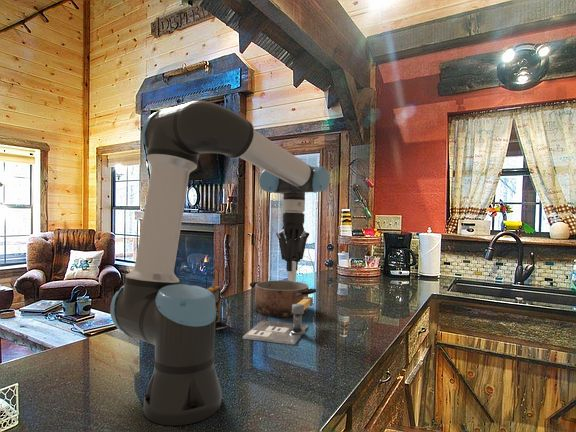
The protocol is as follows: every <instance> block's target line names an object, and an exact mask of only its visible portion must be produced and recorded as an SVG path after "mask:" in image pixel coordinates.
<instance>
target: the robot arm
mask: <svg viewBox="0 0 576 432" xmlns="http://www.w3.org/2000/svg"><path fill="white" fill-rule="evenodd" d="M141 139H142V140H141V141H142V143H143V144H144V146H145V147H144V148H145V150H146V151H147V154H146V160H147V161H148V162H149V164H150V165H151V171H150V177H149V182H148V189H147V195H146V199H145V206H144V210H143V211H144V212H143V217H142V223H141V228H140V229H141V230H140V234H139V240H138V244H137V245H138V246H137V253H136V258H135V262H134V263H135V264H134V268H133V269H132V270H131V271H130V272H128V273H127V274H126V275H125V278H124V283H123V285H122V286H121V287H120V288H119V290H118V291H116V292H115V294H114V295H113V297H112V299H111V302H110V307H109V309H110V311H109V312H110V317H111V320H112V323H113V325H114V326H115V327H116V328H117V329H118V330H119V331H121V332H122V333H124V334H125V335H126V336H128V337H130V338H134V339H137V340H139V341H142V342H145V343H147V344H150V345H153V346H154V363H153V366H154V369H153V372H152V375H151V377H150V380H149V382H148V385H147V386H148V387H147V389H146V392H145V394H144V397H143V407H142V408H143V409H142V411H143V415H144V416H145V418H147V420H149V421H151V422H152V423H155V424H158V425H162V426H185V425H190V424H195V423H198V422H201V421H204V420H206V419H208V418H209V417H212V416H213V415H214V414H216V413H217V412H218V411H219V409H220V407H221V406H222V395H223V393H222V388H221V385H220V380H219V377H218V375H217V374H218V373H217V370H216V368H215V367H216V366H215V350H216V349H215V347H216V330H215V329H216V325H217V323H216V313H217V312H216V306H215V297H214V295H213V294H212V293H211V292H210V291H209V290H207V289H206V287H202V286H198V285H189V284H184V283H181V284H180V279H179V278H178V277H177V275H176V274H175V267H176V261H177V255H178V254H177V253H178V249H179V242H180V234H181V228H182V223H183V217H184V216H183V215H184V211H185V203H186V196H187V191H188V190H187V189H188V184H189V180H190V178H189V177H190V173H192V172H193V171H195V170H196V169H197V168H198V164H199V157H200V155H204V154H220V155H224V156H226V157H228V158H230V159H238V158H239V159H242V160H244V161H246V162H248V163H250V164H251V165H254V166H256V168H259V169H261V170H262V172H261V173H260V175H259V178H258V183H259V187H260V188H261V190H263V192H267V193H269V194H272V193H273V194H281V195H282V194H283V201H282V202H283V203H282V212H283V213H282V223H283V226H282V228H281V230H280V231H278V232H276V233H275V235H276V237H277V239H278V243H279V249H280V256H281V260H282V261H283V260H284V261H285V262H286V271H287V281H295V282H297V281H296V280H297V271H298V266H299V265H298V263H299V262H300V261H301V260H303V259H304V255H305V250H306V246H307V240H308V238H309V236H310V232H307V231H306V230H305V228H304V224H305V213H304V212H305V209H306V208H305V207H306V206H305V205H306V198H305V197H306V193H321V192H325V191H326V190H327V189H328V188H329V186H330V181H331V180H330V179H331V178H330V177H331V176H330V172H329V171H328V169H327V168H326V167H325V166H311V165H309V164H308V163H306V162H305V161H303V160H302V159H300V158H298V157H297V156H295V155H294V154H292V153H291V152H289V151H288V150H286V149H284V148H283V147H281V146H280V145H279V144H276V142H274V141H272V140H270V139H269V138H267V137H266V136H265V135H263V134H261V133H259V131H257V130H255V126H254V124H253V123H252V122H250V121H249V120H248V119H246V118H245V117H243V116H241V115H240V114H238V113H236V112H234V111H233V110H231V109H228V108H226V107H224V106H221V105H219V104H217V103H213V102H210V101H205V100H193V101H189V102H186V103H183V104H179V105H177V106H173V107H164V108H162V109H159V110H157V111H156V112H153V113H152V114H150V115H149V116H148V117H147V118H146V120H145V121H144V124H143V125H142V128H141Z"/></svg>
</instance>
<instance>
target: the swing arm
mask: <svg viewBox="0 0 576 432" xmlns="http://www.w3.org/2000/svg"><path fill="white" fill-rule="evenodd" d="M313 305H314V297H313V296H308V297H303V300H301V301H300V302H299V303H297V304H293V305H292V313H293V314H303V313H304V310H305V309H306V308H308V309H309V307H313ZM303 315H304V314H303Z"/></svg>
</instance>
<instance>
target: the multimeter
mask: <svg viewBox="0 0 576 432" xmlns="http://www.w3.org/2000/svg"><path fill="white" fill-rule="evenodd" d="M216 269H217V271H218V276H217V285H216V279H215V276H216V274H215V273H216V272H215V268H213V270H212V269H208V270H207V272H206V276H205V277H206V279H205V281H206V282H205V289H207V290H209V291H210V292H211V293H212V294H213V295H214V297H215V306H216V312H217V313H216V324H217V323H219V322H220V320H225V321H223V322H222V323H223V324H224V325H226V326H221V327H217V328H215V331H216V330H222V329H224V328H225V329H226V327H230V328H233V326H231V324H229V323H227V322H228V320H227V319H226V318H222V317H221V290H222V287H221V286H220V284H219V282H220V281H219V280H220V270H219V268H218V267H216ZM209 271H211V273H212V281H211V282H212V283H211V286H210V287H208V286H207V285H208V284H207V283H208V274H209Z"/></svg>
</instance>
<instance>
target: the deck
mask: <svg viewBox="0 0 576 432" xmlns="http://www.w3.org/2000/svg"><path fill="white" fill-rule="evenodd" d="M292 319H293V323H291V322H290V323H289V322H280V321H272V320H271V321H270V320H264V319H262V320H261V321H259V322H258V323H257V324H255V326H254V327H252V328H251V329H250V330H249V331H247V332H246V333H245V334H244V335H243V336H242V339H243V340H249V341H251V340H252V341H257V342H258V341H259V342H268V343H275V344H283V345H291V346H293V345H294V346H296V344H297V343H298V341H299V339H300V338H301V337H302V335H305V334H306V330H307V328H308V324H303V322H302V320H303V315H302V314H294V315H293V318H292ZM269 326H274V327H283V328H289V330H288V331H287V332H286V333H285V334H283V333H274V332H273V333H272V334H271V335H270V336H269V337H268V338H263V337H254V336H247V334H248V333H249V332H250V331H252V330H258V331H265V330H266V329H267V328H268V327H269Z"/></svg>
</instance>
